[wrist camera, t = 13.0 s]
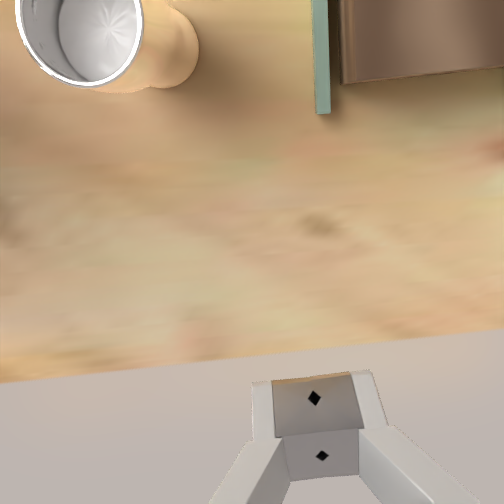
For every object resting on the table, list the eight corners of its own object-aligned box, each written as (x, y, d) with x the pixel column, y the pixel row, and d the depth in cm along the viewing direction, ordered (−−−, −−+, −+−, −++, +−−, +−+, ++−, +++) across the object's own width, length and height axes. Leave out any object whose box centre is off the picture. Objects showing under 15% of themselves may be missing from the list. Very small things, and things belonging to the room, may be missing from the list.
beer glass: (222, 50, 36) (177, 21, 22) (163, 112, 38) (86, 121, 24) (160, -22, 35) (70, -102, 21) (102, 45, 37) (-17, 14, 23)
